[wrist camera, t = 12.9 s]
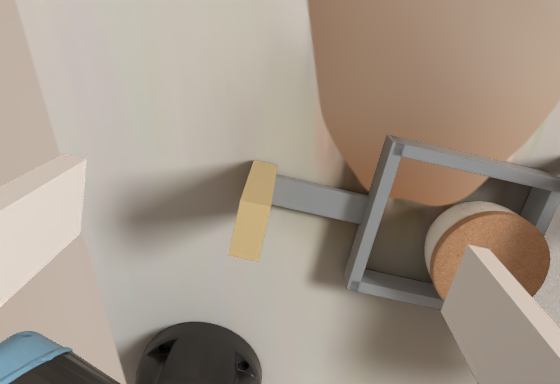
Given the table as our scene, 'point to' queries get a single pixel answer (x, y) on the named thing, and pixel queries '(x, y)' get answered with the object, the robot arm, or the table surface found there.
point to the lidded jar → (485, 244)
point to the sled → (377, 210)
